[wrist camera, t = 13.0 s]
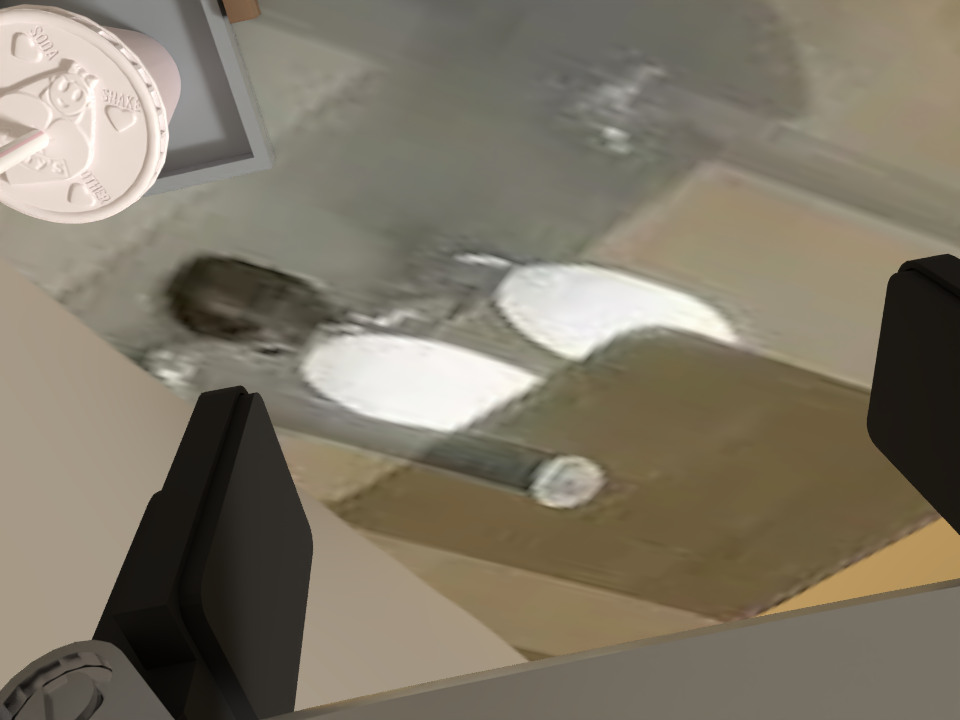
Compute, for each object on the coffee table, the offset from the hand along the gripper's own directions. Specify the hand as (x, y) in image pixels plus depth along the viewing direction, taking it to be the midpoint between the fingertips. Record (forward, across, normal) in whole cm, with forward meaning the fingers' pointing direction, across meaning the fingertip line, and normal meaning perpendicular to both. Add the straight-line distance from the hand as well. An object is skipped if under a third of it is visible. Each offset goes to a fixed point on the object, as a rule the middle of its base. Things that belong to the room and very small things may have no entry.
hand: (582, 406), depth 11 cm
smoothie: (+25, +13, -3) cm, 28 cm away
